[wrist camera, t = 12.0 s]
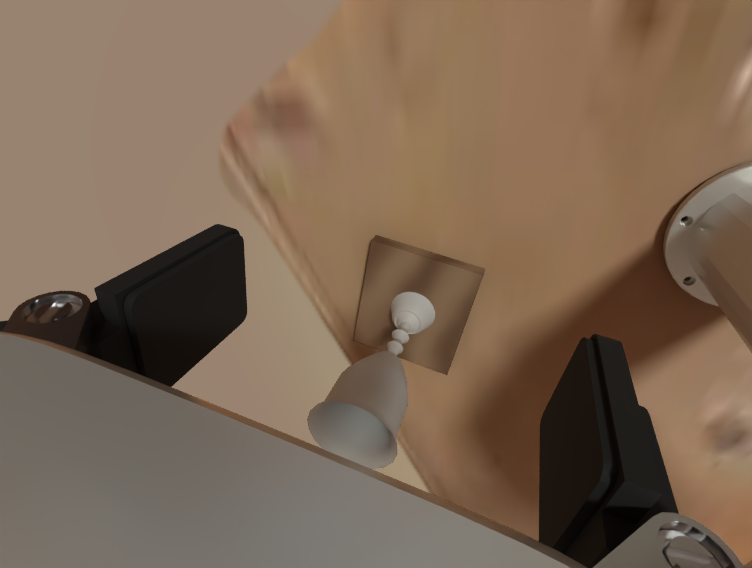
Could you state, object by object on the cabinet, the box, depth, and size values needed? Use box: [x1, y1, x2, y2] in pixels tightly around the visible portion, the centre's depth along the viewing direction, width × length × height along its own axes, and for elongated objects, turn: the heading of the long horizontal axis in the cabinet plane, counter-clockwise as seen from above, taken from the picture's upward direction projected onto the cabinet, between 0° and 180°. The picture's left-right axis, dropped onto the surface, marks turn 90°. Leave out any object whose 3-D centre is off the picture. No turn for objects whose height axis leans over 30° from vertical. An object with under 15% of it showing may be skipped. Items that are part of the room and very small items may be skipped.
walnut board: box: [353, 235, 485, 375], centre depth 46 cm, size 12×14×2 cm
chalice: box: [307, 292, 435, 469], centre depth 38 cm, size 7×7×18 cm
